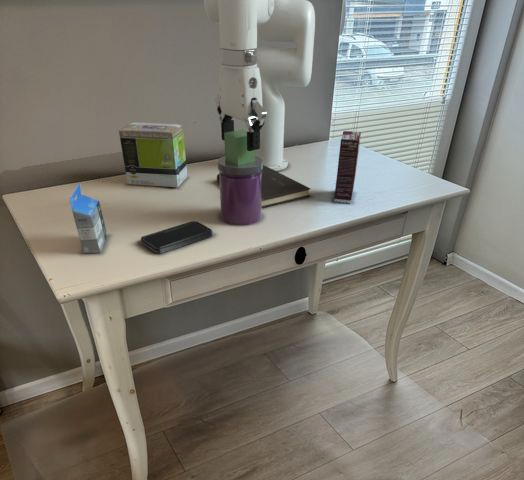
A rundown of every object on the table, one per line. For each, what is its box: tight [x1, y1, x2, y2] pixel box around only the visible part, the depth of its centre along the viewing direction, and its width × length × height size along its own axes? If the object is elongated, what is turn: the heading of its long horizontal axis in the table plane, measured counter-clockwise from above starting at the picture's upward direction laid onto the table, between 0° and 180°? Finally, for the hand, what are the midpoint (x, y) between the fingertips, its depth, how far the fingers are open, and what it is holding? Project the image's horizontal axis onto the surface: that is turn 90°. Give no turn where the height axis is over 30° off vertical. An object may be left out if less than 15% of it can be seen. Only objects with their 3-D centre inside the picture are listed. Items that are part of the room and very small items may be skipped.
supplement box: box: [333, 130, 362, 204], centre depth 129 cm, size 9×5×16 cm, turn 168°
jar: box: [217, 155, 263, 226], centre depth 118 cm, size 10×10×14 cm
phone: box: [140, 220, 213, 254], centre depth 112 cm, size 8×1×15 cm
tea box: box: [118, 121, 188, 188], centre depth 137 cm, size 15×10×15 cm, turn 80°
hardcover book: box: [216, 165, 311, 209], centre depth 137 cm, size 16×23×2 cm
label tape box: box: [69, 182, 108, 254], centre depth 106 cm, size 9×4×12 cm, turn 5°
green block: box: [223, 129, 255, 166], centre depth 112 cm, size 5×5×6 cm
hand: (240, 144), depth 112 cm, fingers open, 9 cm apart
